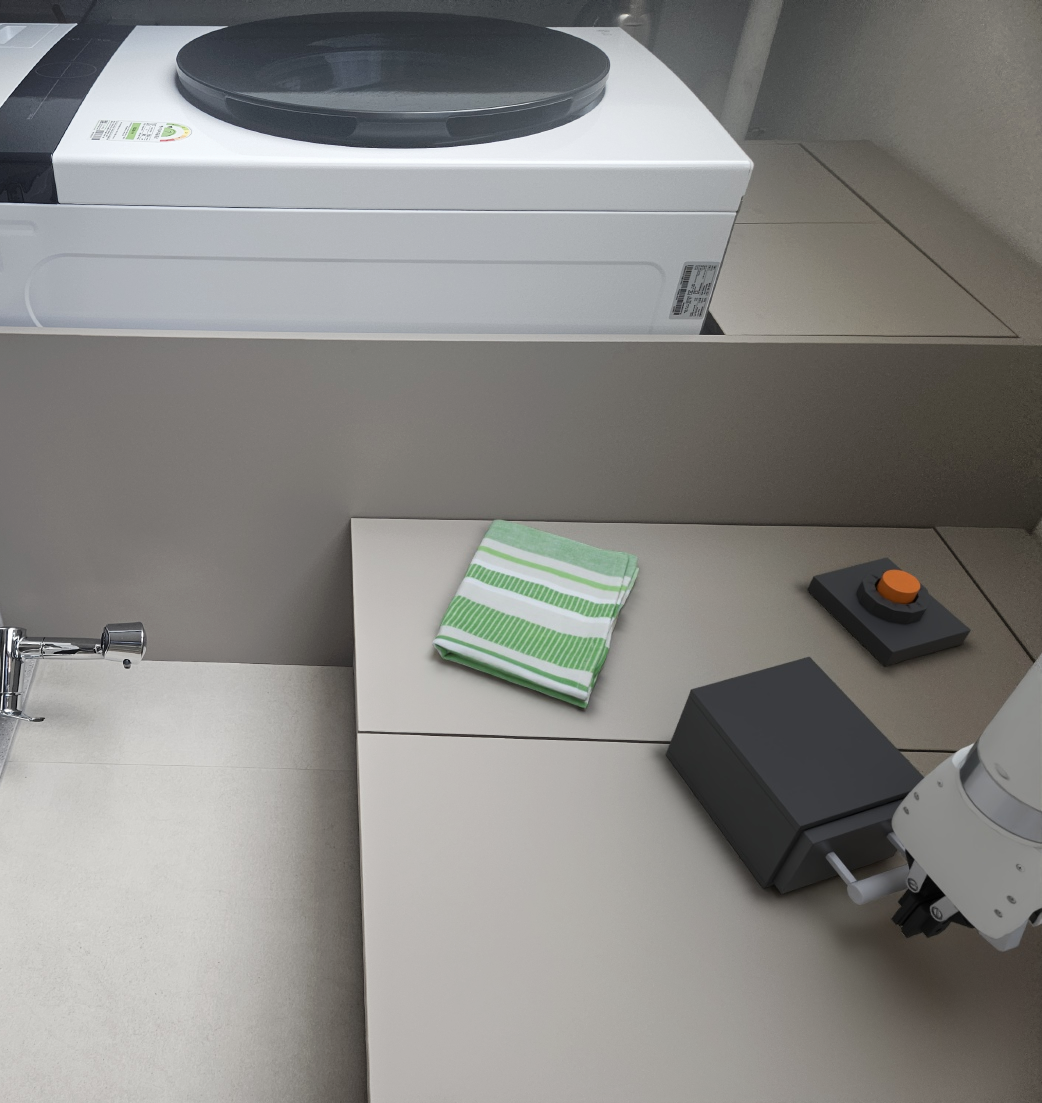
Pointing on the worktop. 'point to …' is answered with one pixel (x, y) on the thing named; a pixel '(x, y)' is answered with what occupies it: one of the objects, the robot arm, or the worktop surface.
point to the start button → (898, 586)
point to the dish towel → (537, 610)
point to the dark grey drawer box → (783, 759)
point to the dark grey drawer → (847, 854)
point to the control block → (886, 614)
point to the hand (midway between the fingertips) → (914, 923)
